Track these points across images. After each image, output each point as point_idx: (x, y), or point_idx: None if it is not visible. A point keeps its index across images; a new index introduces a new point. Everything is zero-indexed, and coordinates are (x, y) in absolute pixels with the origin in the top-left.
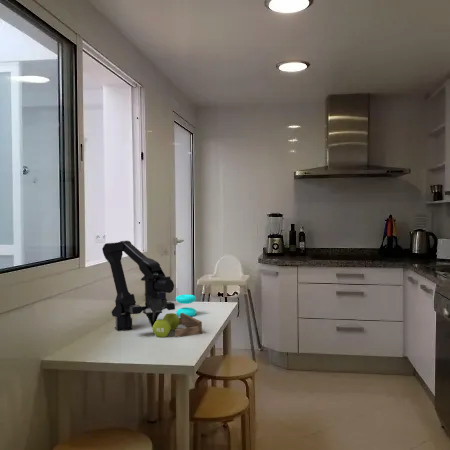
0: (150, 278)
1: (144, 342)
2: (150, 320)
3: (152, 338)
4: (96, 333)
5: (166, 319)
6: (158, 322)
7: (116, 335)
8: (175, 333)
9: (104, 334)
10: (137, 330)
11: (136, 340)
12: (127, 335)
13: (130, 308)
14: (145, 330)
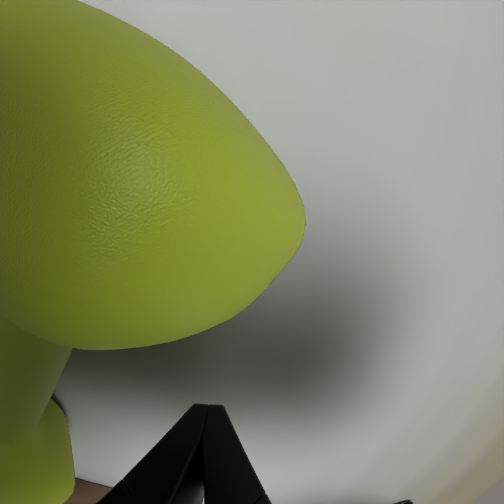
0: None
1: (439, 20)
2: (268, 499)
3: (312, 118)
4: (498, 469)
5: (6, 464)
6: (135, 39)
7: (488, 417)
8: None
9: (498, 449)
10: (304, 497)
11: (487, 158)
12: (451, 398)
13: None
14: None
